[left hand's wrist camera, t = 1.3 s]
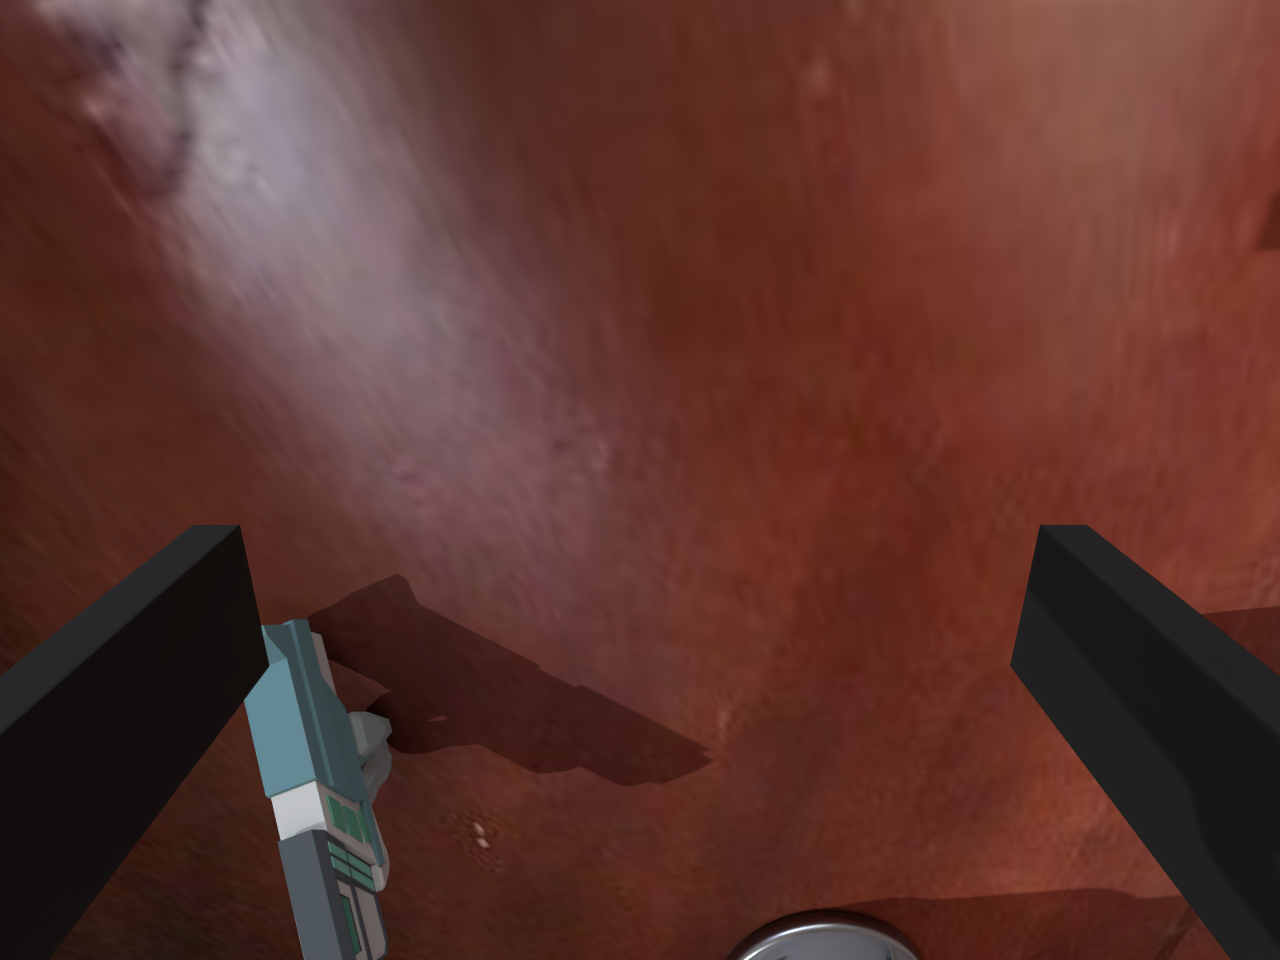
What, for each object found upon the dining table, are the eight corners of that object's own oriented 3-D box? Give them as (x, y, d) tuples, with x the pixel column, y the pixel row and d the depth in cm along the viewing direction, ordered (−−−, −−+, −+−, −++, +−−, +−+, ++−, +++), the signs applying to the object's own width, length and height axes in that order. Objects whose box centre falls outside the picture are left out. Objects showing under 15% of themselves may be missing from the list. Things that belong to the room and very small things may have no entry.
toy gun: (403, 941, 46) (294, 1028, 37) (325, 637, 51) (209, 643, 41) (456, 923, 46) (359, 1006, 36) (373, 617, 50) (267, 618, 41)
